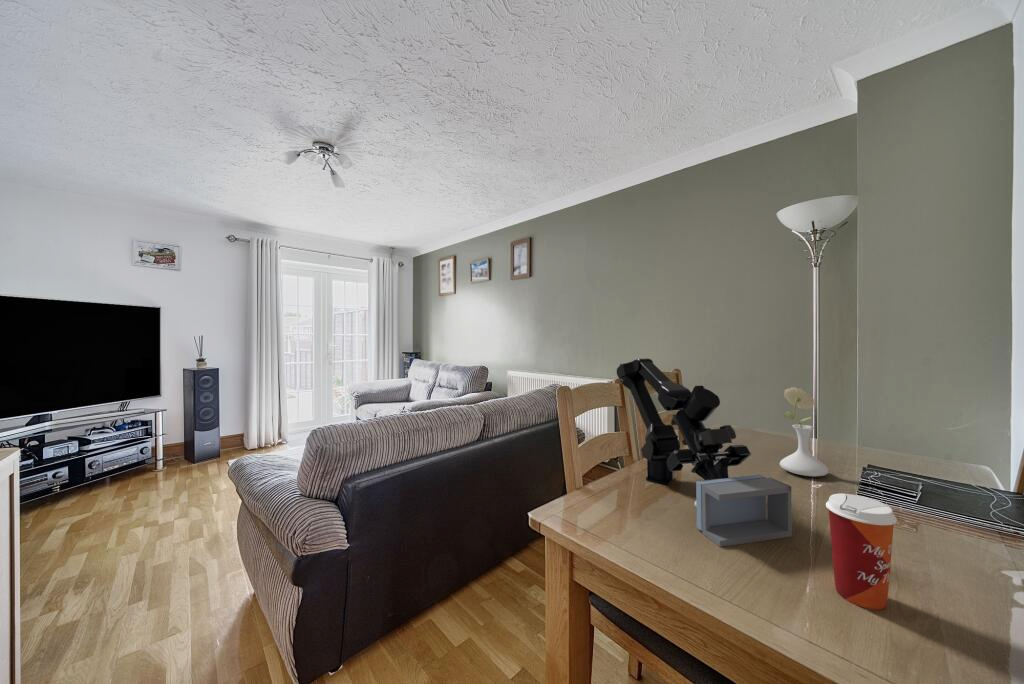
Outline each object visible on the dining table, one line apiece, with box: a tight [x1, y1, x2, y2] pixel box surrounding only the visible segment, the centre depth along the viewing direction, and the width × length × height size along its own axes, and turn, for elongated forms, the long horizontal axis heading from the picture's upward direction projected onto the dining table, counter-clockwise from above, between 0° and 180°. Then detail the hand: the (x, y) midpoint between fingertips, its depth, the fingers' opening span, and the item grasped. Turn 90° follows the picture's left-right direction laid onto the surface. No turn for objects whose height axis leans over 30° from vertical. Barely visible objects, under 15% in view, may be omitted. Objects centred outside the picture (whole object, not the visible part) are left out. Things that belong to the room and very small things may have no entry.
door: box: [693, 474, 767, 532], centre depth 81 cm, size 3×17×10 cm, turn 101°
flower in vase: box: [779, 386, 830, 478], centre depth 111 cm, size 13×11×25 cm
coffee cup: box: [825, 493, 898, 611], centre depth 59 cm, size 8×8×15 cm
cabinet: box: [701, 477, 793, 548], centre depth 77 cm, size 5×17×10 cm, turn 100°
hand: (727, 493), depth 82 cm, fingers closed, pressing on door
